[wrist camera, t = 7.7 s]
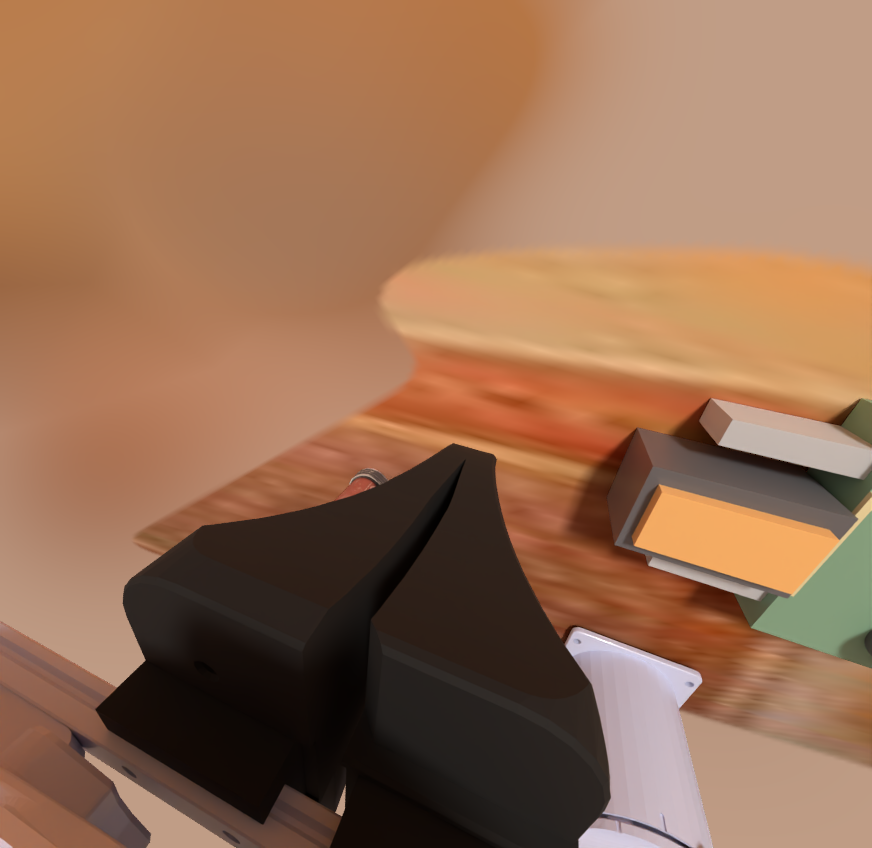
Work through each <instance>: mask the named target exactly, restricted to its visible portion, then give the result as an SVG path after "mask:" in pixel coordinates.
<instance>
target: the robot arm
mask: <svg viewBox="0 0 872 848" xmlns="http://www.w3.org/2000/svg"><path fill="white" fill-rule="evenodd" d="M496 460H497V459H496V457H495V456H494V455H493V454H489V453H486V452H482V451H479V450H475V449H472V448H468V447H465V446H461V445H457V444H454V443H453V444H451V445H449V446H447V447H446V448H444V449H443V450H441V451H440V452H438V453H437V454H435V455H433V456H432V457H430V458H429V459H427V460H425V461H424V462H422V463H420V464H419V465H417V466H415V467H413V468H412V469H410V470H408V471H406V472H405V473H403V474H401V475H399V476H397V477H395V478H393V479H391V480H389V481H387V482H385V483H383V484H380V485H378V486H376V487H373V488H371V489H368V490H366V491H363V492H360V493H358V494H355V495H352V496H349V497H346V498H343V499H339V500H336V501H333V502H329V503H326V504H323V505H319V506H316V507H312V508H308V509H304V510H299V511H295V512H290V513H285V514H280V515H275V516H270V517H264V518H259V519H252V520H244V521H237V522H230V523H222V524H215V525H205V526H202V527H200V528H199V529H197V530H196V531H195V532H193V533H192V534H190V535H189V536H188V537H186V538H185V539H184V540H182V541H181V542H180V543H178V544H177V545H176V546H174V547H173V548H172V549H170V550H169V551H167V552H166V553H165V554H163V555H162V556H161V557H159V558H158V559H157V560H155V561H154V562H153V563H151V564H150V565H149V566H147V567H146V568H144V569H143V570H142V571H140V572H139V573H138V574H136V575H135V576H134V577H132V578H131V579H130V580H129V581H128V583H127V584H126V585H125V588H124V593H123V606H124V609H125V612H126V616H127V618H128V620H129V623H130V625H131V627H132V629H133V632H134V634H135V637H136V639H137V641H138V644H139V646H140V648H141V650H142V653H143V655H144V657H145V659H146V661H145V662H144V663H143V664H142V665H140V666H139V668H137V669H136V670H135V671H134V672H133V673H132V674H131V675H130V676H129V677H128V678H127V679H126V680H125V681H124V682H123V683H122V684H121V685H120V686H119V687H118V688H117V687H115V686H113V685H111V684H110V683H108V682H106V681H104V680H103V679H101V678H99V677H97V676H96V675H94V674H92V673H90V672H89V671H87V670H85V669H83V668H82V667H80V666H78V665H76V664H75V663H73V662H71V661H69V660H68V659H66V658H64V657H62V656H61V655H59V654H57V653H55V652H54V651H52V650H50V649H48V648H47V647H45V646H43V645H41V644H40V643H38V642H36V641H35V640H33V639H31V638H29V637H27V636H26V635H24V634H22V633H21V632H19V631H17V630H15V629H14V628H12V627H10V626H8V625H6V624H5V623H3V622H1V621H0V848H146V847H147V845H148V844H149V843H150V836H151V834H150V832H149V831H148V830H147V829H146V828H145V827H144V826H143V825H142V824H141V822H140V821H139V820H138V819H137V818H136V817H135V816H134V815H133V814H132V813H131V811H130V810H129V809H128V807H127V806H126V804H125V803H124V802H123V801H122V799H121V798H120V796H119V794H118V792H117V790H116V787H115V785H114V783H113V782H112V781H111V780H110V779H109V778H108V777H106V776H105V775H104V774H103V773H102V772H100V771H99V770H98V769H97V768H96V767H94V766H93V765H92V764H91V763H89V762H88V761H87V760H86V759H85V758H84V757H85V751H87V752H88V753H90V754H91V755H93V756H95V757H96V758H98V759H100V760H101V761H102V762H104V763H105V764H107V765H109V766H110V767H112V768H113V769H115V770H116V771H118V772H119V773H121V774H122V775H124V776H126V777H127V778H129V779H130V780H132V781H133V782H135V783H137V784H138V785H140V786H141V787H143V788H144V789H146V790H147V791H149V792H150V793H152V794H153V795H155V796H157V797H158V798H160V799H162V800H163V801H164V802H166V803H167V804H169V805H171V806H172V807H174V808H175V809H177V810H178V811H180V812H182V813H183V814H185V815H186V816H188V817H189V818H191V819H192V820H194V821H195V822H197V823H198V824H200V825H202V826H203V827H205V828H206V829H208V830H209V831H211V832H212V833H214V834H216V835H217V836H219V837H220V838H222V839H223V840H225V841H226V842H228V843H230V844H231V845H233V846H234V847H236V848H713V844H712V841H711V837H710V832H709V828H708V824H707V820H706V816H705V812H704V808H703V804H702V800H701V796H700V792H699V788H698V784H697V780H696V776H695V772H694V768H693V764H692V760H691V756H690V752H689V748H688V744H687V740H686V736H685V732H684V728H683V724H682V720H681V716H680V712H679V708H680V707H681V706H682V705H683V703H684V702H685V701H686V700H687V699H688V698H689V697H690V695H691V694H692V693H693V692H694V691H695V690H696V689H697V687H698V686H699V685H700V684H701V683H702V678H701V675H700V673H699V672H697V671H695V670H693V669H691V668H688V667H685V666H682V665H680V664H677V663H674V662H672V661H669V660H666V659H664V658H661V657H658V656H656V655H653V654H650V653H648V652H645V651H642V650H640V649H637V648H634V647H631V646H629V645H626V644H623V643H621V642H618V641H615V640H613V639H610V638H607V637H605V636H602V635H599V634H597V633H594V632H591V631H589V630H586V629H583V628H580V627H575V628H573V629H572V630H571V632H570V634H569V636H568V638H567V640H566V642H565V644H564V643H563V642H562V640H561V639H560V637H559V636H558V634H557V632H556V631H555V629H554V627H553V626H552V624H551V622H550V621H549V619H548V617H547V616H546V614H545V612H544V611H543V609H542V607H541V605H540V603H539V601H538V599H537V597H536V595H535V594H534V592H533V590H532V588H531V586H530V584H529V582H528V580H527V578H526V576H525V574H524V572H523V570H522V568H521V565H520V563H519V561H518V558H517V556H516V554H515V551H514V549H513V546H512V543H511V541H510V538H509V535H508V532H507V529H506V526H505V522H504V519H503V515H502V512H501V507H500V503H499V498H498V492H497V486H496V476H495V465H496ZM345 785H346V795H345V811H344V813H343V816H340V815H338V814H336V813H335V812H336V809H337V807H338V804H339V801H340V798H341V796H342V793H343V790H344V787H345Z"/></svg>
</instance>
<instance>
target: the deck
mask: <svg viewBox="0 0 872 848" xmlns="http://www.w3.org/2000/svg"><path fill="white" fill-rule="evenodd" d="M699 422H700V423H701V425H702V426H703V427H704V428H705V430H706V431H707V432H708V433H709V434H710V436H711V437H712V438H713V439H714V441H715V442H716V443H717V444H718V445H720V446H724V447H728V448H732V449H737V450H741V451H745V452H749V453H753V454H757V455H762V456H766V457H770V458H774V459H778V460H782V461H787V462H791V463H795V464H799V465H803V466H807V467H810V468H809V469H808V471H807V473H808V474H809V475H810V476H811V477H812V478H814V479H815V480H816V481H817V482H818V483H819V484H820V485H821V486H822V487H824V488H825V489H826V490H827V491H828V492H829V493H830V494H831V495H832V496H834V497H835V498H836V499H837V500H838V501H839V502H840V503H841V504H842V505H844V506H845V507H846V508H847V509H848V510H849V511H850V512H851V513H852V514H854V515H855V516H856V517H857V518H858V520H857V522H856V523H855V524H854V525H853V526H852V527H851V528H850V529H849V531H848V532H847V533H846V534H845V535H844V536H843V537H842V538H841V540H840V541H839V542H838V543H837V545H836V546H835V547H834V548H833V549H832V550H831V551H830V552H829V554H828V555H827V556H826V557H825V558H824V559H823V560H822V561H821V563H820V564H819V565H818V566H817V567H816V568H815V569H814V570H813V572H812V573H811V574H810V575H809V576H808V577H807V578H806V579H805V580H804V582H803V583H802V584H801V585H800V586H799V587H798V588H797V589H796V591H795V592H794V593H793V594H792V595H791V596H790V597H789V598H788V599H787V598H783V597H780V596H777V595H774V594H771V593H767V592H764V591H761V590H758V589H755V588H751V587H748V586H745V585H742V584H738V583H735V582H732V581H729V580H726V579H722V578H719V577H716V576H713V575H710V574H706V573H703V572H700V571H697V570H694V569H690V568H687V567H684V566H681V565H677V564H674V563H671V562H668V561H665V560H661V559H658V558H655V557H652V556H649V555H645V556H646V560H647V563H648V566H651V567H655V568H658V569H661V570H664V571H667V572H670V573H673V574H676V575H680V576H683V577H686V578H689V579H692V580H695V581H698V582H701V583H704V584H708V585H711V586H714V587H717V588H720V589H723V590H726V591H729V592H732V593H734V595H735V597H736V599H737V601H738V603H739V605H740V607H741V609H742V611H743V613H744V615H745V617H746V619H747V621H748V623H749V625H750V627H751V628H753V629H756V630H759V631H762V632H765V633H768V634H771V635H774V636H777V637H780V638H783V639H786V640H789V641H792V642H795V643H798V644H801V645H804V646H806V647H809V648H812V649H815V650H818V651H821V652H824V653H827V654H830V655H833V656H836V657H839V658H842V659H845V660H848V661H851V662H854V663H857V664H860V665H863V666H866V667H869V668H872V400H867V399H861V400H860V401H859V403H858V404H857V405H856V407H855V408H854V409H853V411H852V412H851V413H850V415H849V416H848V417H847V419H846V420H845V421H844V423H843V424H842V425H841V426H839V425H834V424H829V423H825V422H820V421H815V420H811V419H806V418H801V417H797V416H792V415H787V414H783V413H778V412H773V411H769V410H764V409H759V408H755V407H750V406H745V405H741V404H736V403H731V402H727V401H722V400H717V399H713V398H711V399H710V401H709V403H708V405H707V406H706V408H705V410H704V412H703V414H702V416H701V418H700V420H699Z"/></svg>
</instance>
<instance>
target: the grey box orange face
mask: <svg viewBox="0 0 872 848" xmlns="http://www.w3.org/2000/svg"><path fill="white" fill-rule="evenodd" d="M607 503H608V509H609V515H610V521H611V527H612V533H613V539H614V545H616V546H620V547H623V548H626V549H629V550H632V551H636V552H639V553H642V554H645V555H649V556H652V557H655V558H658V559H661V560H665V561H668V562H671V563H674V564H677V565H681V566H684V567H687V568H690V569H694V570H697V571H700V572H703V573H706V574H710V575H713V576H716V577H719V578H722V579H726V580H729V581H732V582H735V583H738V584H742V585H745V586H748V587H751V588H755V589H758V590H761V591H764V592H767V593H771V594H774V595H777V596H780V597H783V598H787V599H788V598H789V597H790V596H791V595H792V594H793V593H794V592H795V591H796V589H797V588H798V587H799V586H800V585H801V584H802V583H803V582H804V580H805V579H806V578H807V577H808V576H809V575H810V574H811V573H812V572H813V570H814V569H815V568H816V567H817V566H818V565H819V564H820V563H821V561H822V560H823V559H824V558H825V557H826V556H827V555H828V554H829V552H830V551H831V550H832V549H833V548H834V547H835V546H836V545H837V543H838V542H839V541H840V540H841V538H842V537H843V536H844V535H845V534H846V533H847V532H848V531H849V529H850V528H851V527H852V526H853V525H854V524H855V523H856V522H857V520H858V518H857V517H856V516H855V515H854V514H852V513H851V512H850V511H849V510H848V509H847V508H846V507H845V506H844V505H842V504H841V503H840V502H839V501H838V500H837V499H836V498H835V497H834V496H832V495H831V494H830V493H829V492H828V491H827V490H826V489H825V488H824V487H822V486H821V485H820V484H819V483H818V482H817V481H816V480H815V479H814V478H812V477H811V476H810V475H809V474H808V473H807V472H806V471H805V470H804V469H802V468H801V467H800V466H798V465H794V464H789V463H785V462H781V461H777V460H772V459H768V458H764V457H760V456H756V455H751V454H747V453H743V452H739V451H734V450H730V449H726V448H722V447H718V446H713V445H709V444H705V443H701V442H696V441H692V440H688V439H684V438H680V437H675V436H671V435H667V434H663V433H658V432H654V431H650V430H646V429H642V428H637V429H636V431H635V434H634V436H633V438H632V440H631V443H630V445H629V447H628V450H627V452H626V454H625V456H624V459H623V461H622V463H621V465H620V468H619V470H618V472H617V475H616V477H615V479H614V481H613V484H612V486H611V488H610V490H609V493H608V495H607Z"/></svg>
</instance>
